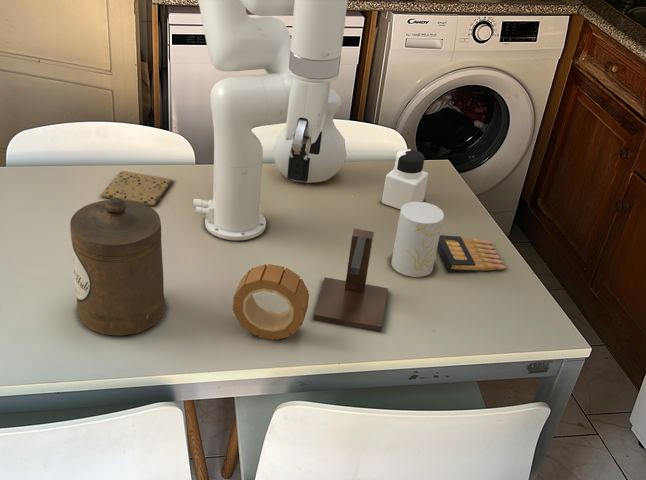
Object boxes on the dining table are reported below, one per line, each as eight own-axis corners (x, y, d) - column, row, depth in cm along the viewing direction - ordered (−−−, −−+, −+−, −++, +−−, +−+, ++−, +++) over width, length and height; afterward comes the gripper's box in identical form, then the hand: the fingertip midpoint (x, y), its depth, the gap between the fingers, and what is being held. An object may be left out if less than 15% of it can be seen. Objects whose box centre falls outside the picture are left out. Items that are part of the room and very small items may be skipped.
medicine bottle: (423, 201, 182) (433, 152, 175) (410, 213, 177) (419, 164, 170) (395, 191, 185) (403, 143, 178) (381, 203, 180) (388, 154, 173)
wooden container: (88, 282, 148) (79, 175, 136) (169, 288, 148) (168, 181, 136) (68, 333, 136) (56, 220, 124) (157, 339, 136) (154, 227, 124)
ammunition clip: (448, 271, 159) (507, 273, 160) (451, 263, 158) (509, 266, 159) (434, 242, 167) (489, 244, 169) (436, 234, 166) (492, 237, 168)
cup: (407, 280, 156) (418, 227, 149) (383, 259, 161) (392, 206, 154) (441, 271, 159) (452, 218, 152) (416, 250, 165) (426, 198, 158)
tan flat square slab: (173, 181, 182) (173, 177, 181) (154, 206, 172) (154, 202, 171) (122, 172, 184) (122, 168, 183) (101, 197, 174) (100, 193, 173)
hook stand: (312, 323, 143) (319, 261, 135) (323, 282, 153) (331, 223, 146) (380, 335, 141) (391, 273, 134) (387, 293, 152) (397, 233, 144)
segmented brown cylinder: (231, 332, 139) (234, 274, 132) (238, 315, 143) (241, 259, 136) (300, 344, 138) (306, 287, 131) (305, 327, 142) (311, 271, 135)
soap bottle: (275, 188, 182) (284, 61, 165) (268, 165, 191) (276, 42, 175) (348, 188, 185) (364, 62, 168) (337, 164, 194) (352, 43, 177)
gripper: (301, 40, 128) (292, 139, 139) (276, 80, 115) (268, 186, 125) (348, 48, 127) (335, 146, 137) (328, 89, 114) (316, 195, 124)
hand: (303, 165), depth 131 cm, fingers open, 9 cm apart
